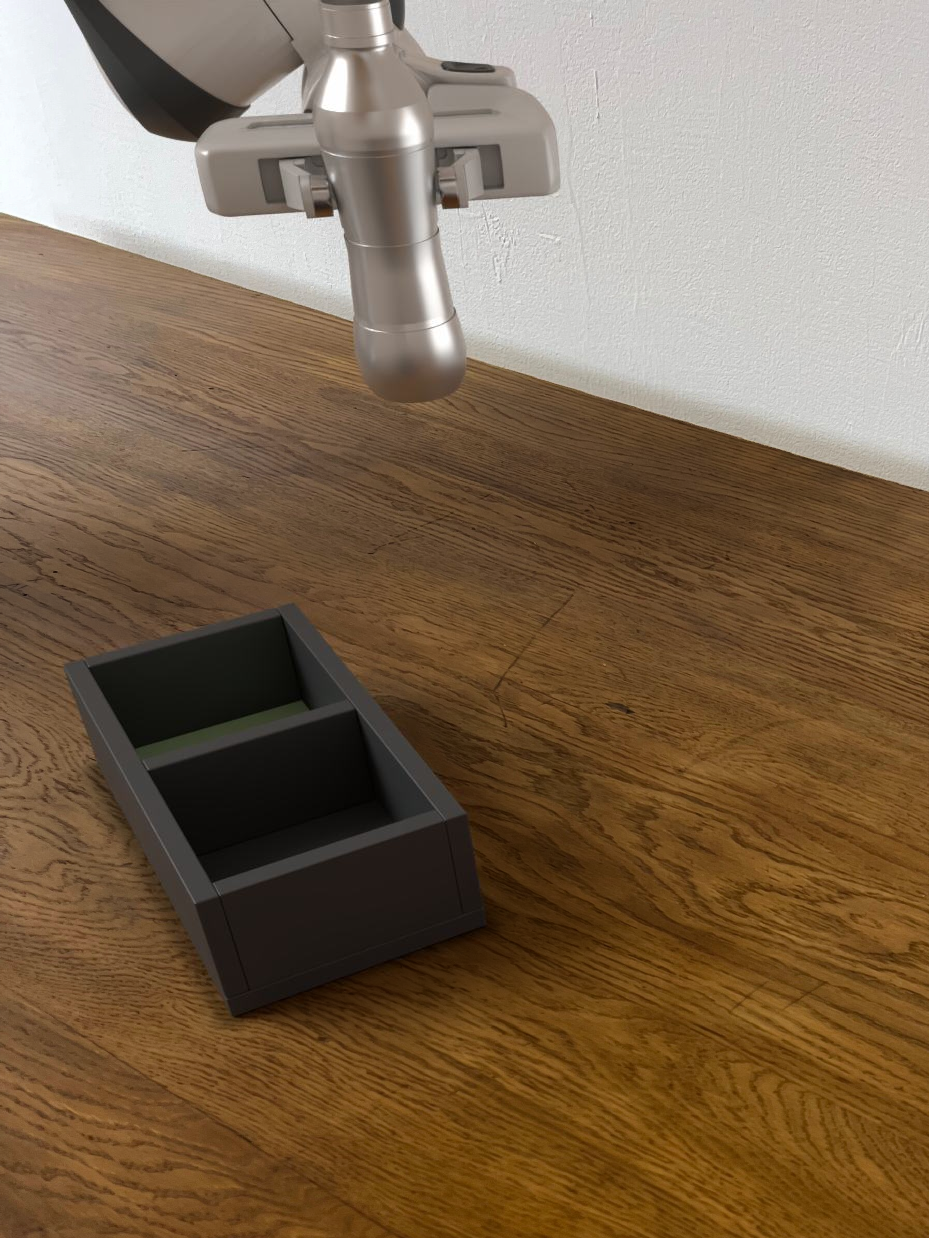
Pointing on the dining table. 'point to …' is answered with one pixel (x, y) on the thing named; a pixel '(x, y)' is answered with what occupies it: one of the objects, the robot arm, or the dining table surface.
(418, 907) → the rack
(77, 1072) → the dining table surface
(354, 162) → the silver metal bottle
